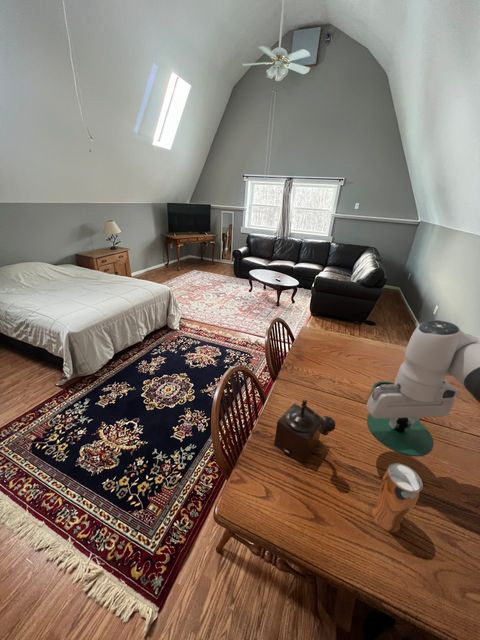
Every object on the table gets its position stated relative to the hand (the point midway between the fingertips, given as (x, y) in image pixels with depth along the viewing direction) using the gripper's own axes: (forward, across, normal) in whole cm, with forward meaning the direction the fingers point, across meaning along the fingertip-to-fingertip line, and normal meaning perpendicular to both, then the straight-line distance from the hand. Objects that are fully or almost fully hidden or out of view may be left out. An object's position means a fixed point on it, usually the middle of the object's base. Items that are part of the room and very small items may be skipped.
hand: (400, 426), depth 71 cm
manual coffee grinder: (+14, -22, +6) cm, 27 cm away
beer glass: (+14, -8, -14) cm, 22 cm away
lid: (+2, 0, 0) cm, 2 cm away
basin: (+14, +16, +23) cm, 31 cm away
